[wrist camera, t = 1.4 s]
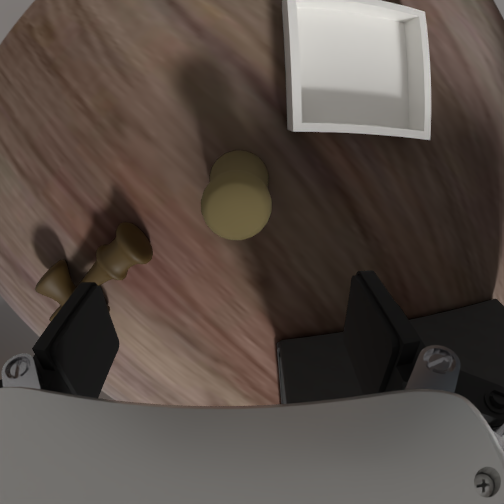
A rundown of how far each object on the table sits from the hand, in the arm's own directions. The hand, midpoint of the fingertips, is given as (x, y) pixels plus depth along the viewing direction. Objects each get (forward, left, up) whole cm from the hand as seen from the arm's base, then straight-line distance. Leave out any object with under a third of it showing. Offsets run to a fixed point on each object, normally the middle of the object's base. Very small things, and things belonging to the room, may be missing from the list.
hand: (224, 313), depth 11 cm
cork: (0, 0, -23) cm, 23 cm away
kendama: (+19, +11, -23) cm, 32 cm away
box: (-12, -12, -22) cm, 28 cm away
